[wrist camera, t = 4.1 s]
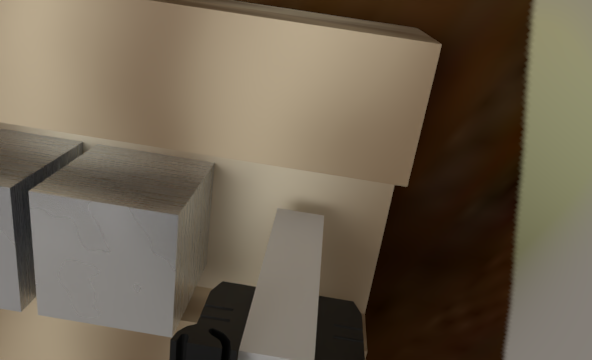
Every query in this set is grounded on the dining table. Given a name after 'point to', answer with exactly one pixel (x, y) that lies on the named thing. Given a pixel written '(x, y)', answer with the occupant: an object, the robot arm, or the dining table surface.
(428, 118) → the dining table surface
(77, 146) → the grey cube block
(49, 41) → the slot board
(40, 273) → the light grey cube
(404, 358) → the dining table surface
